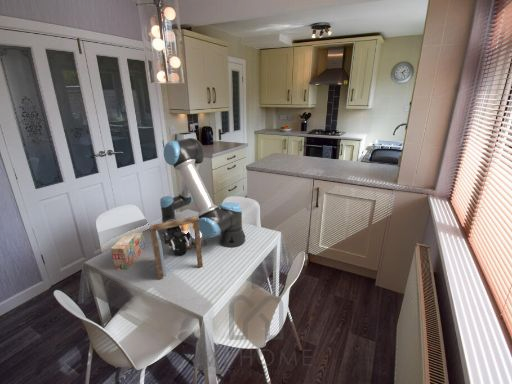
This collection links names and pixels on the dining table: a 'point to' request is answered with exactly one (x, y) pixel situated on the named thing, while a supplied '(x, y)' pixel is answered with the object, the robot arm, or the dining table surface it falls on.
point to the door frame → (173, 224)
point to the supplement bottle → (179, 244)
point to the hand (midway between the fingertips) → (181, 245)
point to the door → (161, 254)
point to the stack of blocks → (127, 250)
